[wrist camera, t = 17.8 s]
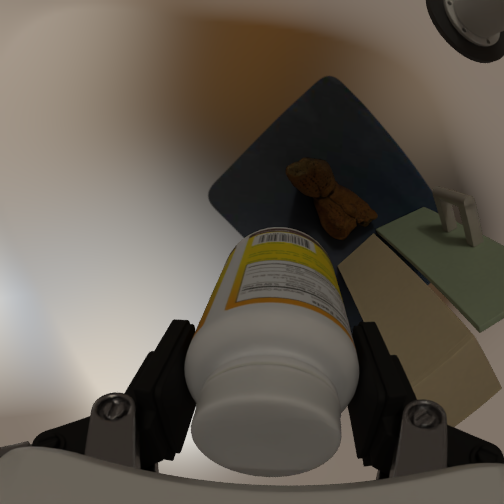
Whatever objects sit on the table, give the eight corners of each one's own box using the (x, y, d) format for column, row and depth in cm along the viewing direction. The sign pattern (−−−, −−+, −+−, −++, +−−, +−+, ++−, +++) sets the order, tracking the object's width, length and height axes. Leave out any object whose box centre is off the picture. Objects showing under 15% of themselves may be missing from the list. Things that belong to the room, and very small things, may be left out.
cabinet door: (362, 196, 48) (470, 262, 18) (412, 174, 46) (550, 212, 16) (377, 232, 49) (479, 333, 20) (424, 210, 47) (554, 281, 18)
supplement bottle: (262, 334, 18) (237, 497, 9) (205, 257, 17) (118, 406, 7) (351, 291, 16) (396, 457, 7) (299, 201, 15) (313, 332, 6)
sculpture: (323, 145, 35) (383, 247, 39) (330, 134, 44) (379, 217, 48) (268, 178, 40) (329, 271, 43) (286, 160, 48) (335, 238, 52)
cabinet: (373, 233, 49) (474, 336, 20) (404, 272, 51) (502, 388, 21) (337, 265, 52) (396, 399, 22) (370, 302, 53) (437, 438, 23)
